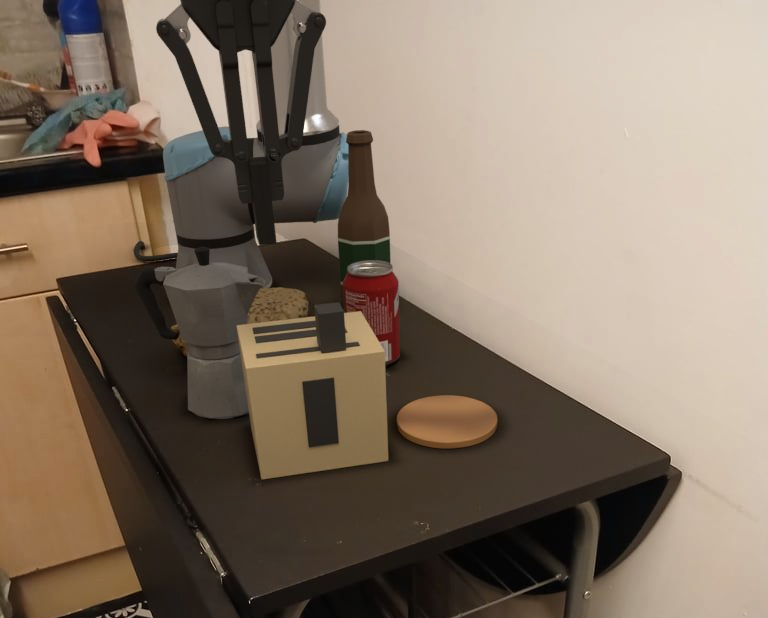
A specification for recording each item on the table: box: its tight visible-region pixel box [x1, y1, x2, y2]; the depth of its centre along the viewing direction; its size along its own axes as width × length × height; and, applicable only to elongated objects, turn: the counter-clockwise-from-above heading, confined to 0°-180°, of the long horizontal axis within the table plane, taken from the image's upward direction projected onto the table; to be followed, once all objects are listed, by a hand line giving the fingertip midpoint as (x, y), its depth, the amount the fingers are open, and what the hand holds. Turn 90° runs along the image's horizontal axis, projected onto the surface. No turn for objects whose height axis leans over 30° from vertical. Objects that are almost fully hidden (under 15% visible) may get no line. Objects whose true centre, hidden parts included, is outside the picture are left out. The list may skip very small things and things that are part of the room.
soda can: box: [343, 260, 401, 367], centre depth 98 cm, size 7×7×12 cm
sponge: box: [170, 286, 310, 358], centre depth 105 cm, size 13×8×20 cm
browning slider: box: [313, 301, 346, 353], centre depth 74 cm, size 2×2×4 cm
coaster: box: [396, 394, 498, 450], centre depth 87 cm, size 11×11×1 cm
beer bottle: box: [337, 129, 392, 313], centre depth 110 cm, size 8×8×24 cm
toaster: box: [237, 311, 389, 481], centre depth 81 cm, size 11×13×12 cm
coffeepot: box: [134, 247, 265, 420], centre depth 88 cm, size 15×9×18 cm, turn 74°
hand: (266, 239), depth 69 cm, fingers closed
